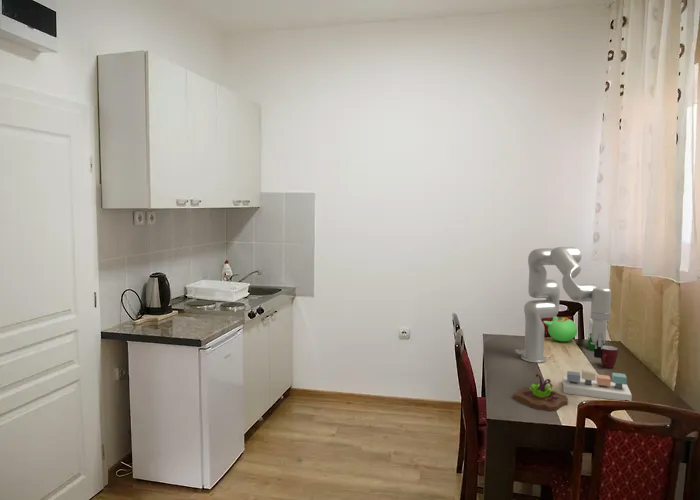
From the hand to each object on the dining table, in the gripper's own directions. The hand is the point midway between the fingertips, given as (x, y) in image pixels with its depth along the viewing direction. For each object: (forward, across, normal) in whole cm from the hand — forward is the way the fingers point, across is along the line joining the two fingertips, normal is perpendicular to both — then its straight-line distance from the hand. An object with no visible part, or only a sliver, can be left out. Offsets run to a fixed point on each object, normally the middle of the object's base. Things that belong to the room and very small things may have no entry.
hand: (598, 357), depth 217 cm
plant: (+16, +20, -22) cm, 34 cm away
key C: (+14, 0, +3) cm, 15 cm away
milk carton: (+15, -71, +4) cm, 72 cm away
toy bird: (+15, -83, -14) cm, 86 cm away
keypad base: (+16, 0, 0) cm, 16 cm away
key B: (+13, 0, -3) cm, 13 cm away
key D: (+13, -1, +9) cm, 15 cm away
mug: (+16, -39, +8) cm, 42 cm away
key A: (+14, 0, -9) cm, 17 cm away
